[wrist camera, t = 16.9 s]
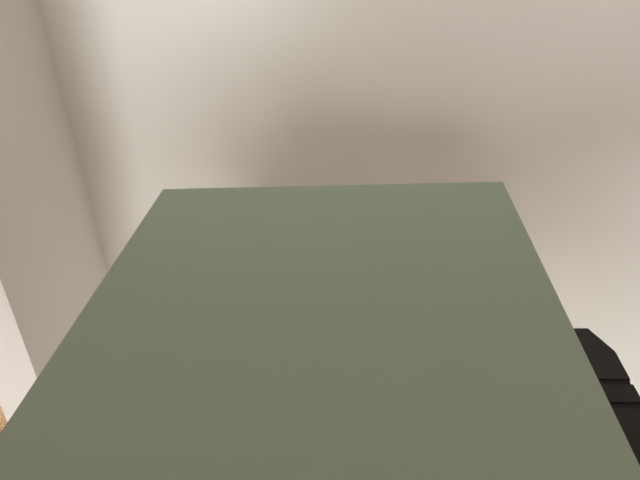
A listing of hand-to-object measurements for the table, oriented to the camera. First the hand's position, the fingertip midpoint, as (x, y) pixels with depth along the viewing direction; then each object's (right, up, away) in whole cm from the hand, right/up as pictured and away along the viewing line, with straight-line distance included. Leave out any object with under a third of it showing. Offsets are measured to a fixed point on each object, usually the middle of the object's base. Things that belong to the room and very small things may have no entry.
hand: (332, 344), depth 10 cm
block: (0, 0, +1) cm, 1 cm away
